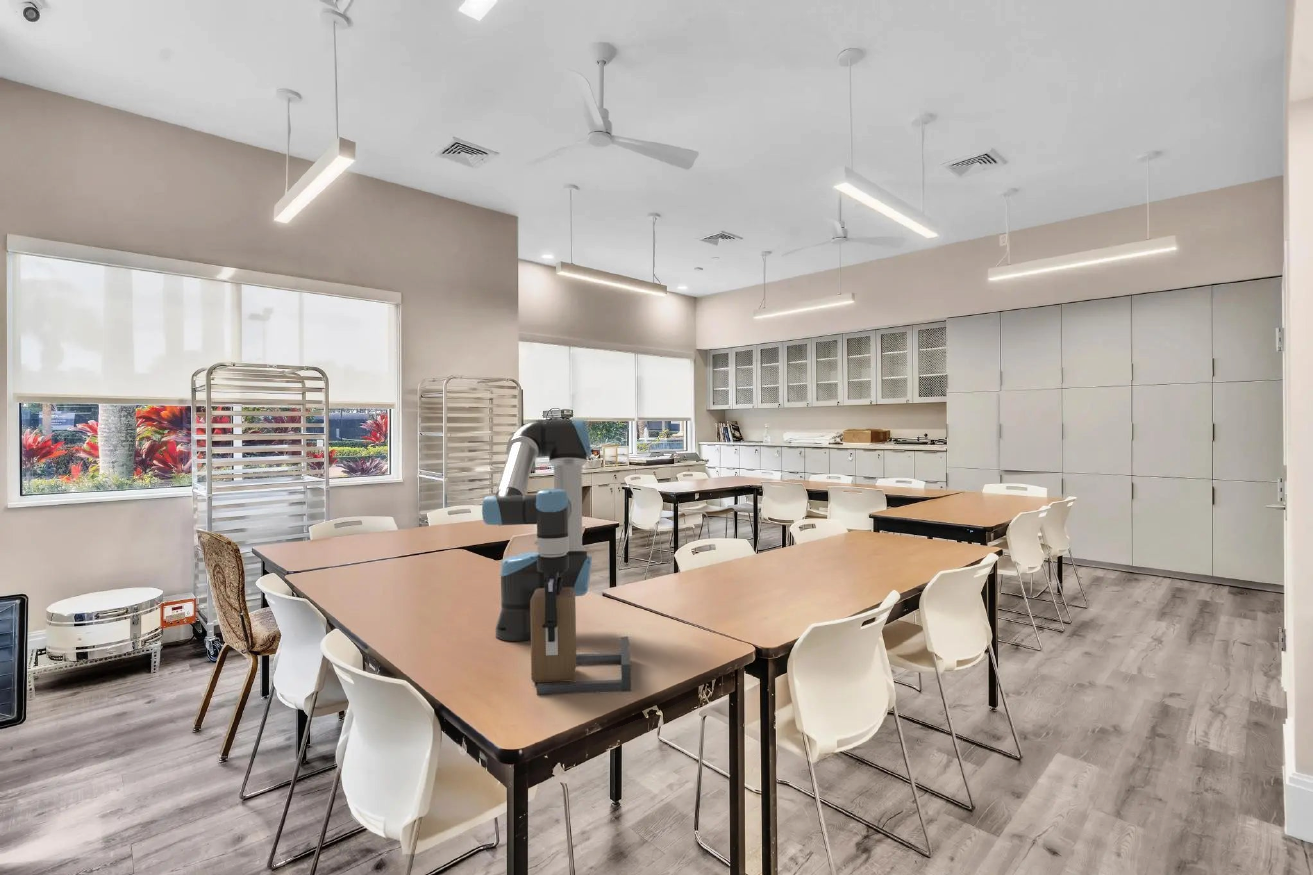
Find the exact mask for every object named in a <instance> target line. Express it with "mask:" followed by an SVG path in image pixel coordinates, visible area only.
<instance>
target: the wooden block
mask: <svg viewBox="0 0 1313 875" xmlns="http://www.w3.org/2000/svg"><path fill="white" fill-rule="evenodd" d="M556 594H557V593H556ZM576 606H577V605H576V596H575V589H574V588H572V587H562V589H560V595H556V608H557V626H558V655H546V628H542V624H544V623H545V588H538V589H536V590H535V592H534V594H533V596H532V598H531V601H530V615H531V639H530V676H531V677H530V678H531V681H532V683H552V682H572V681H573V680H574V679H575V677H576V670H577V664H576V654H577V629H576V628H577V622H576V620H577V619H576V614H577V613H576V609H577V608H576ZM548 622H552V621H548Z"/></svg>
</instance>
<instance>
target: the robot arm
mask: <svg viewBox="0 0 1313 875" xmlns="http://www.w3.org/2000/svg"><path fill="white" fill-rule="evenodd" d="M590 440H591V439H590V434H589V427H588V424H587V422H586V421H585V420H583V419H574V418H569V419H536V420H532V421H529V422H526V424H523V425H522V426H521V427H519V428H518V429H517V430H515V432H514V433H513V434H512V435H511V436H510V438H509V440H508V442H507V444H506V448H505V449H506V454H507V457H506V460H505V464H504V466H503V469H502V473H501V475H500V479H499V483H498V485H497V487H496V488H497V489H496V491H495V494H492V495H487V496H485V497H484V499H483V500H482V503H481V504H482V508H481V516H482V520H483V523H484V524H485V525H487V526H499V527H500V526H515V525H516V526H519V525H521V526H522V525H536V540H534V542H533V543H534V545H537V547H536V548H537V549H536V552H535V551H534V552H533V551H531V552H524V553H520V554H515V555H511V556H509V557H506V558H505V559H503V560H502V562H501V565H500V567H501V568H500V575H499V576H500V595H501V596H500V597H501V598H500V599H501V600H500V601H501V602H500V604H501V608H500V612H499V616H498V619H497V621H496V624H495V637H496V638H497V639H499V640H502V641H508V642H509V641H510V642H519V641H521V642H523V641H531V615H530V601H531V598H532V596H533V594H534V592H535V590H536V589H538V588H545V623H544V624H542V628H546V655H558V626H557V608H556V595H560V589H562V587H572V588H574V589H575V597H583V596H585V595H586V594H587V593H588V591H589V587H590V580H591V574H592V565H593V564H592V562H593V558H592V556H590V555H588V549H586V548H585V546H584V545H583V470H582V469H583V467H584V466H585V465H586V464H587V462H588V458H587V457H591V456H592V449H591V442H590ZM540 457H541V458H543V457H544V458H548V461H549V464H550V465H551V466H553V488H551V489H550V488H549V489H548V488H547V489H541V490H538V491H537V493H536V494H527V491H528V490H527V489H528V485H529V480H530V477H531V474H532V473H531V472H532V468H533V463H534V461H536V459H537V458H540ZM556 593H557V594H556ZM548 621H552V622H548Z"/></svg>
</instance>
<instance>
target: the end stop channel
mask: <svg viewBox="0 0 1313 875" xmlns="http://www.w3.org/2000/svg"><path fill="white" fill-rule="evenodd" d="M619 640H620V652H605V653H603V652H602V653H599V652H598V653H584V654H583V653H582V654H581V653H580V654H577V653H576V665H598V664H599V665H600V664H620V671H621V672H620V675H621V676H620V677H621V679H602V680H601V679H600V680H579V681H577V680H576V681H557V682H536V683H537V684H536V696H542V695H543V696H544V695H563V694H565V695H566V694H585V693H586V694H588V693H607V692H632V681H631V679H632V676H631V674H632V673H631V672H632V671H631V670H632V668H631V652H630V643H629V642H630V641H629V640H630V639H629V636H620V639H619Z"/></svg>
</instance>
